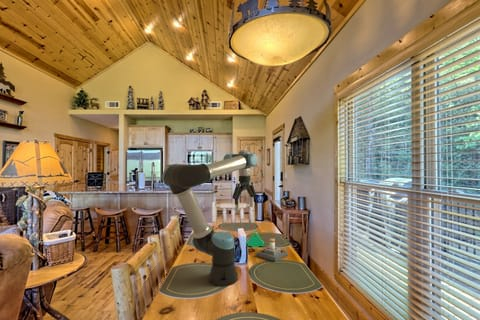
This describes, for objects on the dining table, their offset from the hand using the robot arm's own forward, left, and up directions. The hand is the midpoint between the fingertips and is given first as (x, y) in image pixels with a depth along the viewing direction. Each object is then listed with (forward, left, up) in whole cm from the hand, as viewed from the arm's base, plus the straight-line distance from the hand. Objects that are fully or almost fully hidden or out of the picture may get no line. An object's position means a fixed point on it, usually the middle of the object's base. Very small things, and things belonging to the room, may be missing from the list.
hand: (244, 208), depth 164 cm
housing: (+13, -12, -31) cm, 36 cm away
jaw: (+13, -12, -30) cm, 35 cm away
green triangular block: (+22, +9, -32) cm, 39 cm away
